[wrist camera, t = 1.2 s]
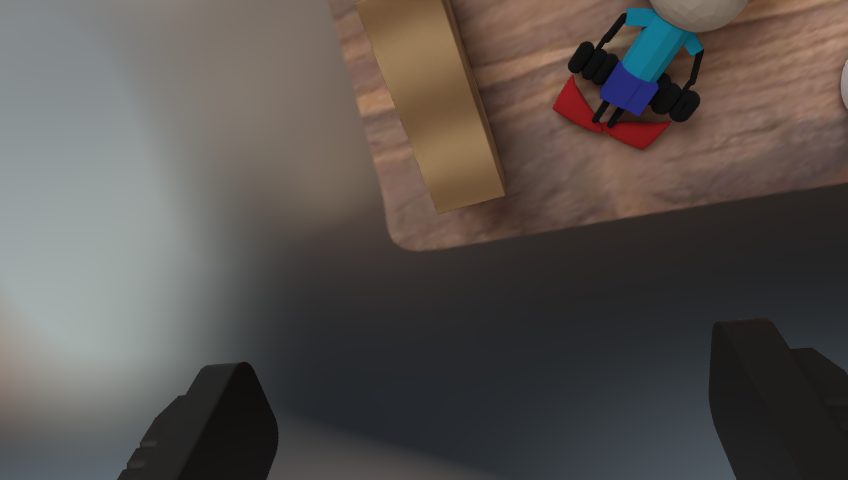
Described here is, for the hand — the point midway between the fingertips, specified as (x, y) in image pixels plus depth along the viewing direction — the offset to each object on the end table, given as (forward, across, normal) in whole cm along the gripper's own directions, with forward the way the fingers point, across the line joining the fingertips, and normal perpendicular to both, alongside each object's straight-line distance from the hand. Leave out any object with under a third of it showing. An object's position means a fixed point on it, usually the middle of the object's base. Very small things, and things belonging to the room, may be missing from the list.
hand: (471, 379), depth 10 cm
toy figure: (+26, -10, 0) cm, 28 cm away
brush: (+26, +3, +2) cm, 27 cm away
